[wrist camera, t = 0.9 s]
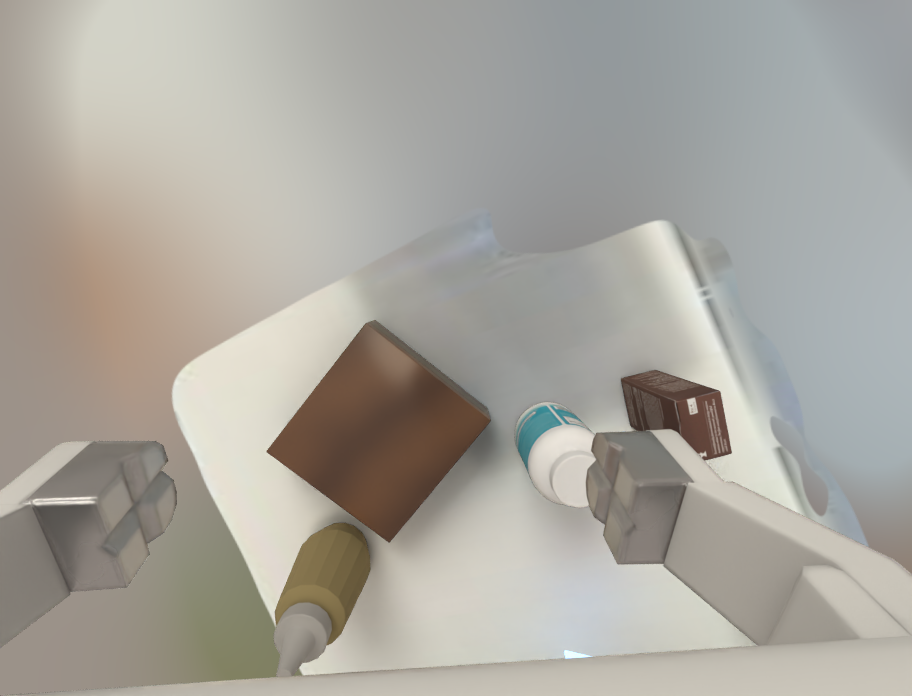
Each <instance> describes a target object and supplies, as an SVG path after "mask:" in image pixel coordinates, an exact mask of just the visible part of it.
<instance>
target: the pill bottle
mask: <svg viewBox="0 0 912 696" xmlns="http://www.w3.org/2000/svg"><path fill="white" fill-rule="evenodd" d="M594 437H595V434H594V433H593V432H592V431H591V430H590V429H589V428H588V427H587V426H586V425H585V424H584V423H583V422H582V421H581V420H580V419H579V418H578V417H576V416H575V415H574V414H573V413H572V412H571V411H570V410H569V409H568V408H566V407H564V406H563V405H560V404H557V403H552V402H544V403H539V404H536V405H534V406H532V407H530V408H528V409H527V410H526V411H525V412H524V413H523V414H522V415H521V417H520V418H519V420H518V422H517V424H516V427H515V443H516V446H517V448H518V451H519V453H520V455H521V458H522V460H523V462H524V464H525V467H526V469H527V471H528V474H529V476H530V478H531V480H532V482H533V484H534V486H535V488H536V489H537V490H538V491H539V492H540V493H541V494H542V495H543V496H544V497H545V498H547V499H548V500H550V501H552V502H555V503H558V504H562V505H568V506H570V507H575V508H583V507H587V506H589V503H588V500H587V495H586V476H587V469H588V468H589V467H590V466H591V465H592V464H593V463H594V462H595V461H596V458H595V457H594V455H593V453H592V451H591V447H592V442H593V439H594Z"/></svg>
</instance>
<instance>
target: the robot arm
mask: <svg viewBox="0 0 912 696" xmlns="http://www.w3.org/2000/svg"><path fill="white" fill-rule="evenodd" d="M591 451H592V453H593V455H594V457H595V458H596V461H595V462H594V463H593V464H592V465H591V466H590V467H589V468H588V469H587V476H586V495H587V500H588V503H589V507H590V509H591V511H592V513H593V516H594V517H595V518H596V519H598V520H599V521H600V522H602V523H603V524H605V528H604V533H603V536H604V538H605V540H606V542H607V544H608V546H609V548H610V550H611V552H612V554H613V556H614V558H615V560H616V562H617V564H664V565H663V566H664V567H665V568H666V569H667V570H669V571H670V572H671V573H672V574H673V575H675V576H676V577H677V578H678V579H679V580H681V581H682V582H683V583H684V584H685V585H686V586H688V587H689V588H690V589H691V590H692V591H694V592H695V593H696V594H697V595H698V596H700V597H701V598H702V599H703V600H704V601H705V602H707V603H708V604H709V605H710V606H711V607H713V608H714V609H715V610H716V611H717V612H719V613H720V614H721V615H722V616H723V617H724V618H726V619H727V620H728V621H729V622H730V623H732V624H733V625H734V626H735V627H736V628H738V629H739V630H740V631H741V632H742V633H743V634H745V635H746V636H747V637H748V638H749V639H751V640H752V641H753V642H754V643H755V644H757V645H758V646H746V647H731V648H716V649H700V650H685V651H670V652H655V653H639V654H624V655H609V656H594V657H591V656H587V655H583V654H579V653H574V652H570V651H566V650H565V652H564V654H565V657H566V658H563V659H548V660H533V661H517V662H502V663H487V664H472V665H457V666H441V667H426V668H411V669H396V670H381V671H366V672H350V673H335V674H320V675H305V676H290V677H275V678H259V679H244V680H230V681H213V682H198V683H183V684H168V685H153V686H137V687H122V688H106V689H91V690H76V691H62V692H61V691H60V692H47V693H46V692H45V693H30V694H16V695H0V696H912V574H911V573H909V572H908V571H907V570H906V569H905V568H904V567H903V566H901V565H900V564H899V563H898V562H897V561H895V560H894V559H892V558H890V557H888V556H885V555H883V554H881V553H879V552H877V551H875V550H873V549H871V548H869V547H867V546H865V545H863V544H861V543H859V542H857V541H854V540H852V539H850V538H848V537H846V536H844V535H842V534H840V533H838V532H836V531H834V530H832V529H830V528H827V527H825V526H823V525H821V524H819V523H817V522H815V521H813V520H811V519H809V518H807V517H805V516H803V515H801V514H798V513H796V512H794V511H792V510H790V509H788V508H786V507H784V506H782V505H780V504H778V503H776V502H774V501H771V500H769V499H767V498H765V497H763V496H761V495H759V494H757V493H755V492H753V491H751V490H749V489H747V488H745V487H742V486H740V485H738V484H736V483H734V482H724V481H723V480H722V479H721V478H720V477H719V476H718V475H717V474H716V473H715V472H714V470H713V469H712V468H711V467H710V466H709V465H708V464H707V463H706V462H705V461H704V460H703V459H702V458H701V457H700V456H699V455H698V454H697V453H696V451H695V450H694V449H693V448H692V447H691V446H690V445H689V444H688V443H687V442H686V441H685V440H684V439H683V438H682V437H681V436H680V435H679V434H678V432H676V431H673V430H671V429H664V430H646V431H632V432H605V433H596V435H595V437H594V439H593V442H592V447H591ZM167 462H168V458H167V455H166V452H165V450H164V446H163V445H162V444H160V443H158V442H156V441H98V442H95V441H81V442H67V443H63V444H58V445H57V446H56V447H55V448H53V449H52V450H51V451H50V452H48V453H47V454H46V455H45V456H44V457H42V458H41V459H40V460H38V461H37V462H36V463H35V464H33V465H32V466H31V467H30V468H29V469H27V470H26V471H25V472H23V473H22V474H21V475H20V476H18V477H17V478H16V479H15V480H13V481H12V482H11V483H10V484H8V485H7V486H6V487H5V488H3V489H2V490H1V491H0V648H1V647H2V646H3V645H5V644H6V643H7V642H9V641H10V640H11V639H13V638H14V637H15V636H17V635H18V634H19V633H21V632H22V631H23V630H25V629H26V628H27V627H28V626H30V625H31V624H32V623H34V622H35V621H36V620H38V619H39V618H40V617H42V616H43V615H44V614H46V613H47V612H48V611H50V610H51V609H52V608H54V607H55V606H56V605H58V604H59V603H60V602H62V601H63V600H64V599H65V598H67V597H68V596H69V595H70V592H75V591H87V590H88V591H89V590H102V589H114V588H127V587H128V586H129V584H130V583H131V581H132V580H133V578H134V577H135V575H136V574H137V572H138V571H139V569H140V568H141V566H142V565H143V563H144V562H145V560H146V559H147V557H148V556H149V555H150V552H149V548H148V543H150V542H151V541H153V540H154V539H156V538H157V537H159V536H160V535H162V534H163V533H164V532H165V530H166V528H167V527H168V526H169V524H170V522H171V521H172V518H173V515H174V511H175V508H176V504H177V495H176V494H177V492H176V487H175V484H174V480H173V479H171V478H170V477H169V476H168V475H167V474H166V473H164V472H163V471H162V470H163V468H164V467H165V465H166V463H167Z"/></svg>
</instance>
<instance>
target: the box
mask: <svg viewBox="0 0 912 696" xmlns="http://www.w3.org/2000/svg"><path fill="white" fill-rule="evenodd" d="M621 382H622V387H623V392H624V397H625V402H626V406H627V411H628V416H629V420H630V425H631V427H633V428H634V429H636V430H637V431H646V430H664V429H671V430H673V431H676V432H678V434H679V435H680V436H681V437H682V438H683V439H684V440H685V441H686V442H687V443H688V444H689V445H690V446H691V447H692V448H693V449H694V450H695V451H696V453H697V454H698V455H699V456H700V457H701V458H702V459H703V460H708V459H713V458H717V457H721V456H724V455H728V454H731V453H732V451H731V446H730V441H729V435H728V430H727V425H726V419H725V414H724V409H723V404H722V399H721V393H720V391H719V390H715V389H712V388H709V387H706V386H703V385H700V384H697V383H694V382H690V381H687V380H684V379H681V378H679V377H675V376H672V375H669V374H666V373H663V372H660V371H657V370H653V371H649V372H645V373H641V374H637V375H633V376H629V377H625V378H622V379H621Z"/></svg>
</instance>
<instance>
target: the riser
mask: <svg viewBox="0 0 912 696" xmlns="http://www.w3.org/2000/svg"><path fill="white" fill-rule="evenodd" d="M490 421H491V420H490V416H489V412H488V409H487V407H485V406H484V405H483V404H482V403H480V402H479V401H478V400H476V399H475V398H474V397H473V396H471V395H470V394H469V393H468V392H466V391H465V390H464V389H462V388H461V387H460V386H459V385H457V384H456V383H455V382H454V381H452V380H451V379H450V378H448V377H447V376H446V375H445V374H443V373H442V372H441V371H440V370H438V369H437V368H436V367H434V366H433V365H432V364H431V363H429V362H428V361H427V360H426V359H424V358H423V357H422V356H420V355H419V354H418V353H417V352H415V351H414V350H413V349H412V348H410V347H409V346H408V345H406V344H405V343H404V342H403V341H401V340H400V339H399V338H398V337H396V336H395V335H394V334H392V333H391V332H390V331H389V330H387V329H386V328H385V327H384V326H382V325H381V324H380V323H378V322H377V321H376V320H373V321H371V322H368V323H366V324H365V325H364V326H363V328H362V329H361V330H360V331H359V333H358V334H357V335H356V337H355V338H354V339H353V340H352V342H351V343H350V344H349V346H348V347H347V348H346V349H345V351H344V352H343V353H342V355H341V356H340V357H339V358H338V360H337V361H336V362H335V364H334V365H333V366H332V367H331V369H330V370H329V371H328V373H327V374H326V375H325V376H324V378H323V379H322V380H321V382H320V383H319V384H318V385H317V387H316V388H315V389H314V391H313V392H312V393H311V395H310V396H309V397H308V398H307V400H306V401H305V402H304V404H303V405H302V406H301V407H300V409H299V410H298V411H297V413H296V414H295V415H294V416H293V418H292V419H291V420H290V422H289V423H288V424H287V425H286V427H285V428H284V429H283V431H282V432H281V433H280V434H279V436H278V437H277V438H276V440H275V441H274V442H273V443H272V445H271V446H270V447H269V449H268V450H267V453H269V454H270V455H271V456H273V457H274V458H275V459H277V460H278V461H280V462H281V463H282V464H284V465H285V466H286V467H288V468H289V469H290V470H292V471H293V472H294V473H296V474H297V475H298V476H300V477H301V478H303V479H304V480H305V481H307V482H308V483H309V484H311V485H312V486H313V487H315V488H316V489H317V490H319V491H320V492H321V493H323V494H324V495H326V496H327V497H328V498H330V499H331V500H332V501H334V502H335V503H336V504H338V505H339V506H340V507H342V508H343V509H344V510H346V511H347V512H349V513H350V514H351V515H353V516H354V517H355V518H357V519H358V520H359V521H361V522H362V523H363V524H365V525H366V526H368V527H369V528H370V529H372V530H373V531H374V532H376V533H377V534H378V535H380V536H381V537H382V538H384V539H385V540H386V541H388V542H390V541H391V540H392V539H393V538H394V537H395V535H396V534H397V533H398V532H399V531H400V529H401V528H402V527H403V526H404V524H405V523H406V522H407V521H408V520H409V518H410V517H411V516H412V515H413V514H414V512H415V511H416V510H417V509H418V508H419V506H420V505H421V504H422V503H423V502H424V500H425V499H426V498H427V497H428V496H429V494H430V493H431V492H432V491H433V490H434V488H435V487H436V486H437V485H438V484H439V482H440V481H441V480H442V479H443V478H444V476H445V475H446V474H447V473H448V472H449V470H450V469H451V468H452V467H453V466H454V464H455V463H456V462H457V461H458V460H459V458H460V457H461V456H462V455H463V454H464V452H465V451H466V450H467V449H468V448H469V446H470V445H471V444H472V443H473V442H474V440H475V439H476V438H477V437H478V436H479V434H480V433H481V432H482V431H483V430H484V428H485V427H486V426H487V425H488V424H489V422H490Z"/></svg>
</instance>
